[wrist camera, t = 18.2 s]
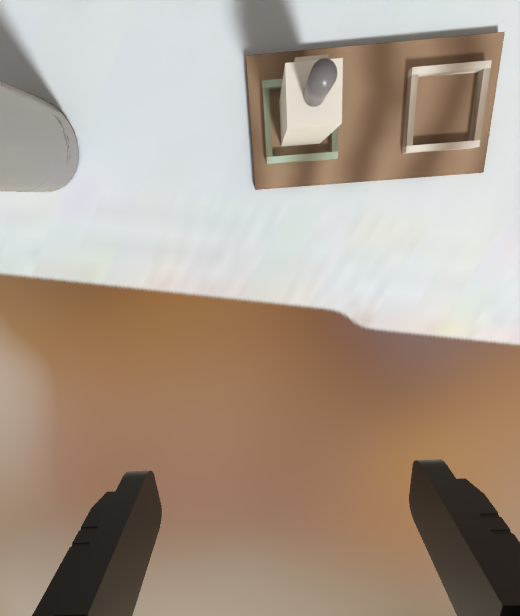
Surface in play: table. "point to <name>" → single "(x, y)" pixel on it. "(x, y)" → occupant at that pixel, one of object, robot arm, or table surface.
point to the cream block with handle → (310, 99)
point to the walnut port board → (384, 112)
